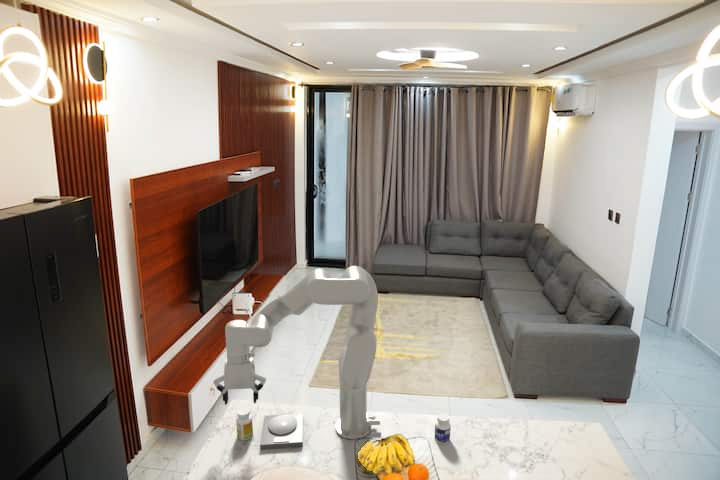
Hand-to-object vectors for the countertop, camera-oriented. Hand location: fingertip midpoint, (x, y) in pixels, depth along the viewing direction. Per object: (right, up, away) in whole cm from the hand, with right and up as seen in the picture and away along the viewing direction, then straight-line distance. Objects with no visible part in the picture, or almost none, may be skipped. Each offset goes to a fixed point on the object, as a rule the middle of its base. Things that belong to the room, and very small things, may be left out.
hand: (241, 401), depth 169 cm
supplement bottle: (+1, -13, +4) cm, 14 cm away
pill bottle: (+69, -14, +2) cm, 71 cm away
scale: (+14, -13, +5) cm, 19 cm away
